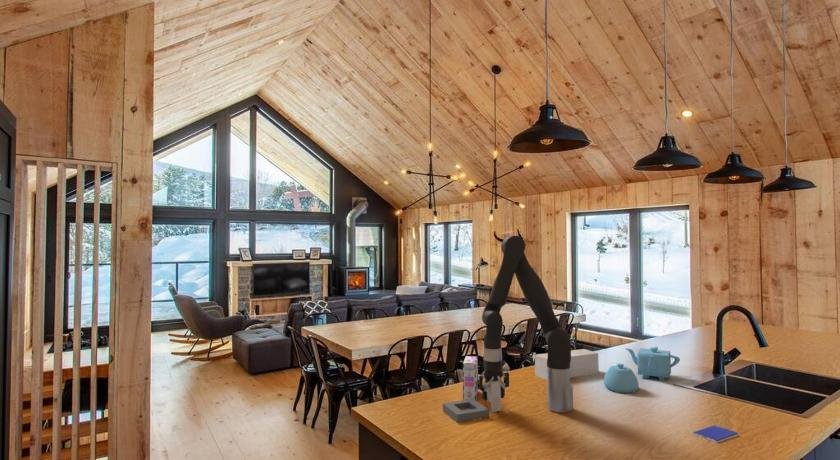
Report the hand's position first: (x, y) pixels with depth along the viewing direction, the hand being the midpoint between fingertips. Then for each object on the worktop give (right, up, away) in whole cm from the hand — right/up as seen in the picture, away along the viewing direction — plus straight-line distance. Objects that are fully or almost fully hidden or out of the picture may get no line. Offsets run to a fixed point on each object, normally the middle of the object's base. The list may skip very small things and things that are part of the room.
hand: (493, 398), depth 190 cm
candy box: (-8, -5, +17) cm, 20 cm away
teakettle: (+87, -5, +43) cm, 98 cm away
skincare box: (0, -5, 0) cm, 5 cm away
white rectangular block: (+46, -6, +50) cm, 68 cm away
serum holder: (-12, -4, -5) cm, 14 cm away
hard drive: (+74, -3, -28) cm, 79 cm away
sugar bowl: (+63, -5, +24) cm, 68 cm away
